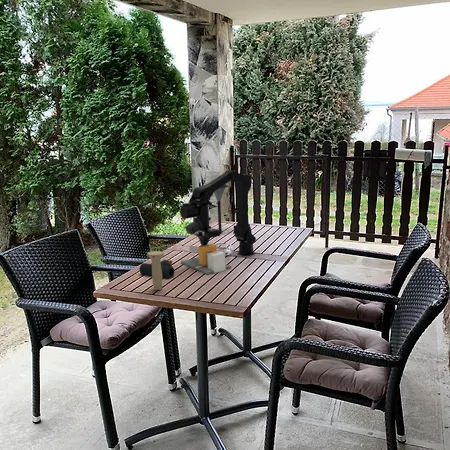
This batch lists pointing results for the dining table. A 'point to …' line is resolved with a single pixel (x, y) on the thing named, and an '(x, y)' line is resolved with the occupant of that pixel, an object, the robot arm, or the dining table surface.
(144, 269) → the pipe connector
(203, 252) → the collar
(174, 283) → the dining table surface
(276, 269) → the dining table surface
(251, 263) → the dining table surface
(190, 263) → the mat
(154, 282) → the handle
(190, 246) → the pipe
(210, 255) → the block
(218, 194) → the solar garden light
